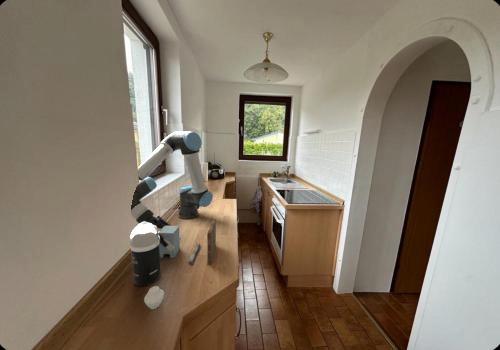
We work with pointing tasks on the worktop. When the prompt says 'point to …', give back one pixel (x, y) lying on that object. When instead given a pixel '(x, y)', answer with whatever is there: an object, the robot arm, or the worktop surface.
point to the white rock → (154, 297)
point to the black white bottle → (145, 253)
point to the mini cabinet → (170, 240)
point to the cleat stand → (210, 242)
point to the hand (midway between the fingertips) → (176, 244)
